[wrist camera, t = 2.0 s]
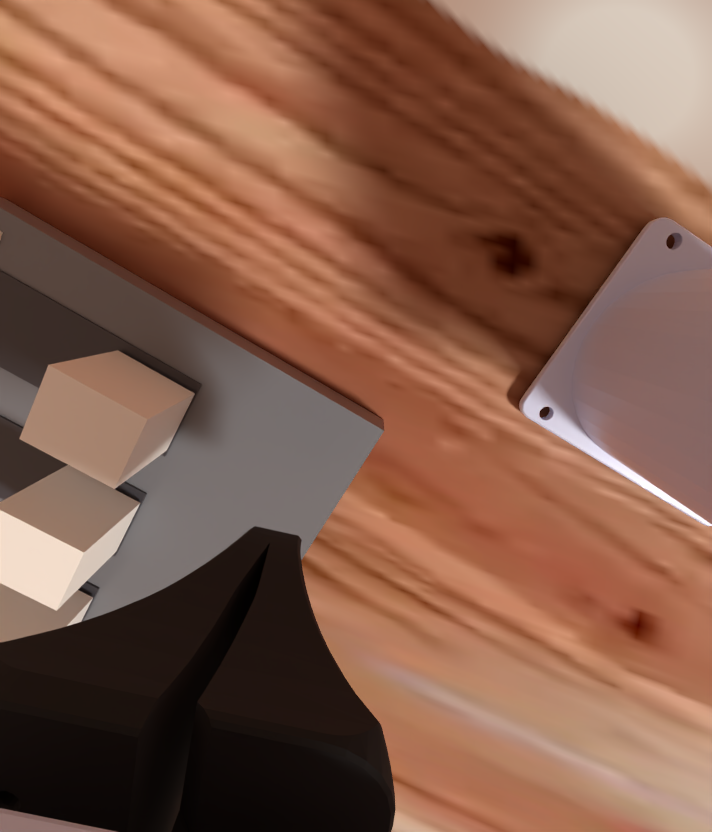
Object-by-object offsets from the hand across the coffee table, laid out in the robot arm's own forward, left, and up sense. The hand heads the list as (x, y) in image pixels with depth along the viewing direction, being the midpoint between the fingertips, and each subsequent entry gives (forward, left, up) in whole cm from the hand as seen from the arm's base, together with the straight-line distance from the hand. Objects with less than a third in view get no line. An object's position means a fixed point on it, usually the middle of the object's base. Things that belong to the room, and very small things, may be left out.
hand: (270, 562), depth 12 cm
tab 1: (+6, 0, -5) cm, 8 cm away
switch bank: (+6, +5, -6) cm, 10 cm away
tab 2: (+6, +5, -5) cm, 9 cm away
